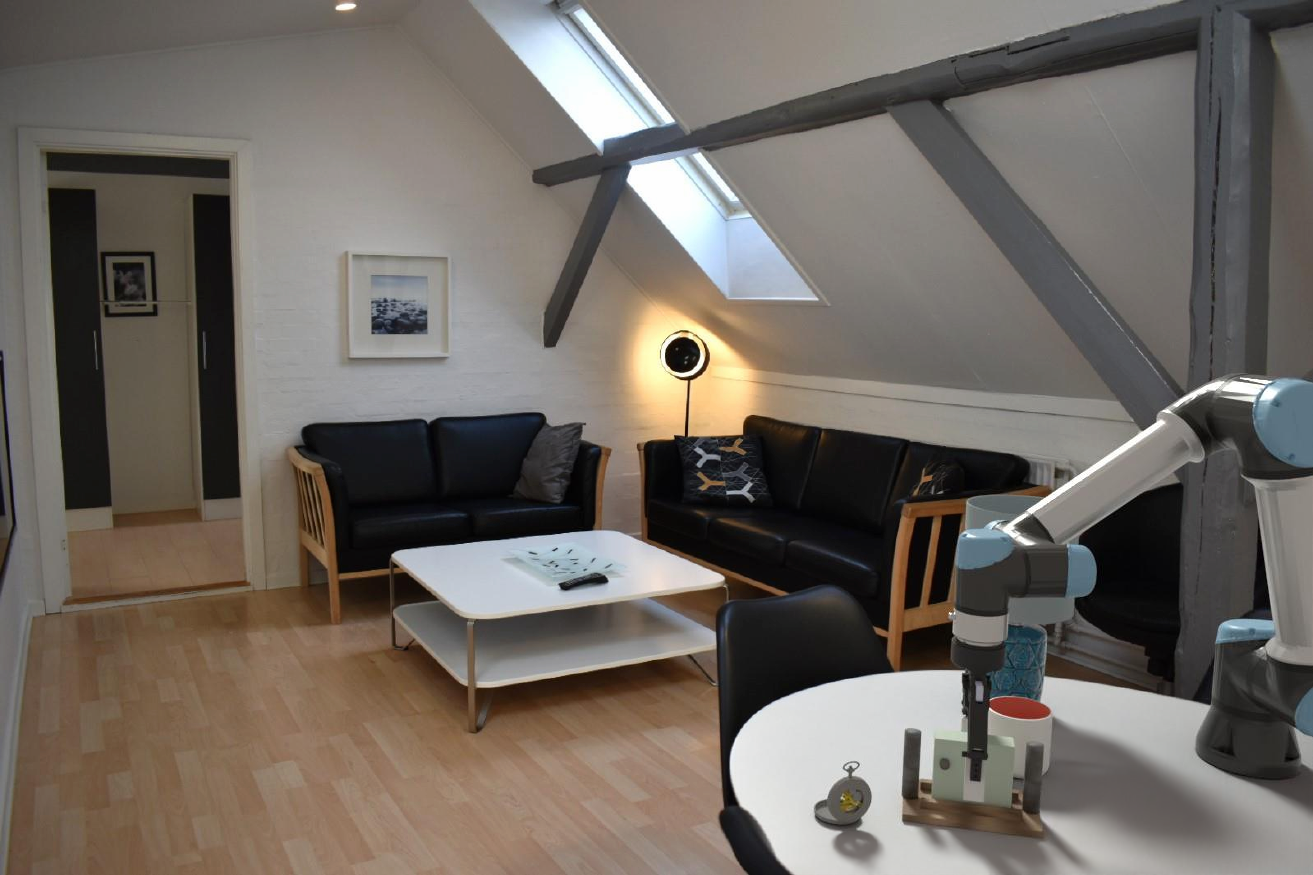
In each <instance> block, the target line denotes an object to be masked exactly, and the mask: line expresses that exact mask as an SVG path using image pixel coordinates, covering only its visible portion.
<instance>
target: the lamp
mask: <svg viewBox="0 0 1313 875" xmlns="http://www.w3.org/2000/svg"><path fill="white" fill-rule="evenodd" d="M1044 498H1045V497H1041V496H1034V495H1033V496H1031V495H1021V494H986V495H977V496H972V497H970V498H968V499H967V500H966V503H965V504H966V506H965V519H964V520H965V521H964V531H967V530H970V529H983V528H984V527H985V526H986V525H987V524H989V523H991V522H993V521H996V520H1008V521H1009V520H1010V521H1011V520H1013V519H1014V518H1016V517H1017V516H1019V515H1020V514H1022V513H1023V512H1025V511H1026V510H1028V509H1029V508H1031V507H1032V506H1034V505H1035V504H1037V503H1038V502H1040V501H1041V500H1043V499H1044ZM1079 540H1080V534H1079V535H1078V536H1076V537H1075V538H1073V539H1072V540H1070V541H1069V542H1067V543H1069V544H1070V545H1079ZM1075 599H1076V597H1072V598H1067V599H1064V598H1010V600H1009V617H1008V634H1007V639H1006V640H1004V642H1005V643H1006V659H1005V666H1004V667H1003V668H1002V669H1001V670H999V671H995V672H993V671H992V672H989V673H987V675H990V681H992V690H991V694H990V699H992V698H996V697H1002V696H1014V697H1023V698H1028V699H1032V700H1035V701H1038V702H1041V701H1042V695H1043V690H1044V689H1043V688H1044V682H1045V681H1044V680H1045V672H1046V661H1047V646H1048V632H1047V630H1046V629H1045V628H1044V627H1043V626H1041V625H1052V624H1059V623H1064V622H1066V621H1069V620H1071V619H1073V617H1074V614H1075V613H1074V610H1075Z"/></svg>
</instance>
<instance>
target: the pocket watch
mask: <svg viewBox="0 0 1313 875" xmlns="http://www.w3.org/2000/svg"><path fill="white" fill-rule="evenodd" d="M853 763H855V764H857V766H856V767H853V766H852V765H849V764H853ZM847 765H849V766H848V768H845V767H847ZM860 766H861V765H860V762H858V761H856V760H851V761H848V762H846V763H844V765H843V766H842V770H843V771H846V772H847V775H846V776H844V777H842V778H840V779H839V780H838V781H836V782H835V783H833V785H832V787H831V788H830V789H829V791H828V795H827V798H826V799H822V800H821V799H820V800H819V801H817V802H816V803H815V804H814V806H813V813H814V815H815V816H816V817H817V818H818V819H820V820H821V821H822V822H823V821H824V822H826V823H828V824H832V825H841V826H842V825H849V824H854V823H855V822H856V821H859V820H860V819H862V817H864V816H865V815H866V813H867V812H868V810H869V809H870V807H871V804H872V799H873V797H872V796H873V793H872V790H871V788H870V786H869V783H867V781H866V780H865V779H863V778H862V777H861V776H857V775H853V773H854V772H855V771H856V770H857V769H858V768H859V767H860Z"/></svg>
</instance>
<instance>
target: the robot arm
mask: <svg viewBox="0 0 1313 875" xmlns="http://www.w3.org/2000/svg"><path fill="white" fill-rule="evenodd" d="M1228 450H1229V451H1231V450H1232V451H1237V452H1236V453H1237V458H1238V465H1239V466H1238V467H1239V470H1240V471H1239V472H1240V476H1241V478H1243V479H1245V480H1246V481H1248V483H1250V484H1252V485H1253V486H1254V494H1255V499H1256V500H1255V502H1256V507H1257V514H1258V515H1257V516H1258V521H1259V522H1258V523H1259V529H1260V537H1261V538H1260V539H1261V543H1262V551H1263V558H1264V566H1265V572H1266V573H1265V574H1266V580H1267V586H1268V594H1269V601H1270V602H1269V603H1270V611H1271V616H1272V620H1267V619H1258V618H1257V619H1255V618H1253V619H1251V618H1249V619H1248V618H1239V619H1238V618H1237V619H1235V618H1234V619H1229V620H1225V621H1224V622H1222V623H1221V624H1220V625H1219V626H1218V629H1217V635H1216V639H1215V641H1214V646H1215V653H1214V663H1213V664H1214V665H1213V677H1212V689H1211V702H1210V707H1209V709H1208V711H1207V713H1206V715H1205V717H1204V719H1203V720H1202V723H1201V725H1200V727H1199V728H1198V729H1199V730H1197V734H1196V736H1195V744H1194V750H1195V752H1196V754H1197V756H1199V757H1200V758H1201V759H1202V760H1204V761H1205V762H1207V763H1209V764H1211V765H1213V766H1214V767H1217V768H1220V769H1222V770H1224V771H1227V772H1230V773H1234V774H1238V775H1242V776H1247V777H1252V778H1257V779H1258V778H1259V779H1270V780H1271V779H1272V780H1274V779H1276V780H1280V779H1286V778H1291V777H1295V776H1297V775H1298V774H1299V773H1300V772H1301V767H1302V753H1301V749H1300V745H1299V741H1298V739H1297V734H1296V730H1297V731H1299V732H1300V733H1301V734H1303V735H1305V736H1307V737H1312V738H1313V382H1312V381H1311V382H1310V381H1307V380H1304V379H1301V378H1297V377H1281V376H1271V375H1268V376H1267V375H1262V374H1261V375H1260V374H1254V373H1248V372H1239V373H1232V374H1227V375H1223V376H1220V377H1218V378H1215V379H1213V380H1210V381H1207V382H1206V383H1204V384H1202V385H1200V386H1199V387H1197V388H1195V389H1193V390H1191V391H1189V392H1188V393H1186V394H1185V395H1183V396H1182V397H1180V398H1178V399H1177V400H1175V401H1174V402H1172V403H1171V404H1169V405H1168V406H1166V407H1165V408H1164V409H1162V410H1160V411H1159V412H1158V413H1157V414H1156V422H1155V423H1153V424H1151V425H1150V426H1149V427H1147V428H1146V429H1144V430H1143V431H1142V432H1140V433H1138V434H1137V435H1135V436H1133V437H1132V438H1131V439H1130V440H1128V441H1127V442H1125V443H1124V444H1122V445H1120V446H1119V447H1118V448H1116V449H1115V450H1113V451H1112V452H1110V453H1109V454H1107V455H1106V456H1105V457H1103V458H1102V459H1100V460H1099V461H1097V462H1095V463H1094V464H1093V465H1091V466H1090V467H1088V468H1087V469H1085V470H1084V471H1083V472H1081V473H1080V474H1078V475H1077V476H1075V477H1074V478H1072V479H1071V480H1069V481H1067V482H1066V483H1065V484H1063V485H1061V487H1059V488H1057V489H1056V490H1055V491H1053V492H1051V493H1050V494H1048V495H1047V496H1045V497H1043V498H1044V499H1043V500H1041V501H1040V502H1038V503H1037V504H1035V505H1034V506H1032V507H1031V508H1029V509H1028V510H1026V511H1025V512H1023V513H1022V514H1020V515H1019V516H1017V517H1016V518H1014V519H1013V520H1011V521H1010V520H1009V521H1008V520H996V521H993V522H991V523H989V524H987V525H986V526H985V527H984V528H983V529H970V530H967V531H965V530H964V531H962V532H961V533H960V534H959V536H958V539H957V545H956V550H955V551H956V552H955V559H954V565H955V567H954V568H955V571H954V572H955V573H954V596H953V597H954V598H953V612H949V613H948V619H949V620H951V621H952V634H953V635H954V636H953V637H952V638H951V644H950V646H951V647H950V661H951V662H952V664H953V665H954V666H956V667H957V668H960V669H963V670H964V672H962V673H961V686H962V700H960V701H961V703H960V704H961V706H962V708H961V713H962V716H961V723H960V726H961V727H960V732H967V751H962V757H965V774H964V792H963V800H968V801H976V802H984V787H985V770H986V760H987V759H988V754H987V742H988V711H989V708H990V694H991V690H992V681H990V675H987V673H989V672H992V671H993V672H995V671H999V670H1001V669H1002V668H1003V667H1004V666H1005V659H1006V643H1005V642H1004V640H1006V639H1007V634H1008V617H1009V600H1010V598H1064V599H1067V598H1072V597H1075V598H1078V597H1079V598H1080V597H1081V598H1082V597H1085V596H1088V595H1090V594H1091V593H1092V591H1093V590H1094V588H1095V585H1096V582H1097V571H1098V569H1097V563H1096V560H1095V557H1094V554H1093V553H1092V551H1091V550H1090V549H1089V548H1088V547H1087V546H1085V545H1082V544H1078V545H1070V544H1069V543H1067V542H1069V541H1070V540H1072V539H1073V538H1075V537H1076V536H1078V535H1079V536H1080V535H1081V534H1082V533H1084V532H1085V531H1087V530H1089V529H1090V528H1091V527H1093V526H1094V525H1096V524H1097V523H1099V522H1100V521H1102V520H1103V519H1105V518H1106V517H1108V516H1109V515H1111V514H1113V513H1114V512H1115V511H1117V510H1118V509H1120V508H1121V507H1123V506H1124V505H1126V504H1127V503H1129V502H1130V501H1132V500H1133V499H1134V498H1137V496H1139V495H1140V494H1142V493H1144V492H1145V491H1146V490H1147V491H1148V490H1149V489H1150V488H1151V487H1153V486H1155V484H1157V483H1158V482H1160V481H1162V480H1163V479H1165V478H1167V476H1169V475H1170V474H1172V473H1173V472H1175V471H1177V470H1178V469H1179V468H1181V467H1182V466H1184V465H1186V464H1187V463H1188V462H1192V463H1201V462H1202V461H1204V460H1205V459H1207V458H1209V457H1210V456H1211V455H1214V454H1217V453H1219V452H1222V451H1228ZM1295 729H1296V730H1295ZM977 749H982V750H977Z"/></svg>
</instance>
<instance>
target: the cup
mask: <svg viewBox="0 0 1313 875" xmlns="http://www.w3.org/2000/svg"><path fill="white" fill-rule="evenodd" d="M1053 716H1054V714H1053V710H1052V708H1051V707H1049V706H1048V705H1046V704H1045V703H1043V702H1041V701H1040V702H1038V701H1035V700H1032V699H1028V698H1023V697H1014V696H1002V697H996V698H992V699H990V708H989V711H988V735H995V736H1004V737H1013V740H1014V745H1015V754H1014V770H1013V779H1014V778H1015V779H1023V780H1024V771H1025V756H1026V743H1027V742H1028V741H1037V742H1040V743H1042V744H1043V745H1044V754H1043V769H1042V776H1043V775H1044V774H1046V773H1047V771H1048V770H1049V768H1050V760H1051V744H1052V730H1053Z"/></svg>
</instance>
